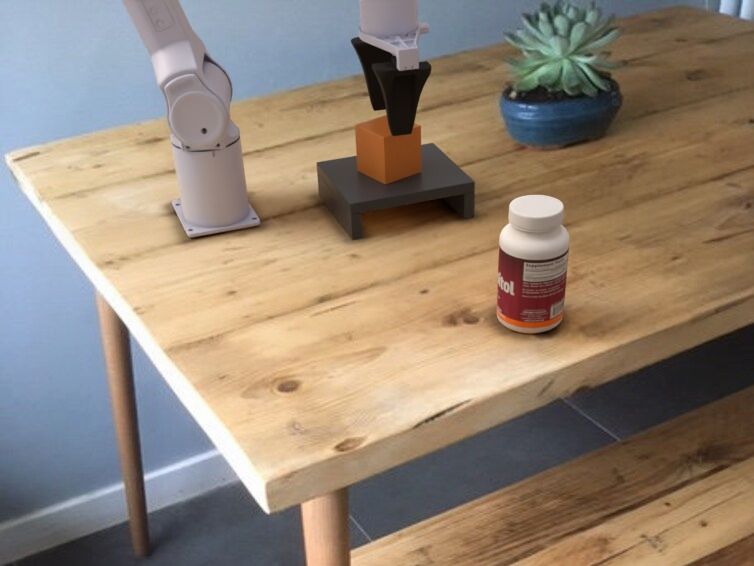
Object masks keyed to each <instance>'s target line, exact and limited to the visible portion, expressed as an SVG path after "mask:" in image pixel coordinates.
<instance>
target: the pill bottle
mask: <svg viewBox="0 0 754 566" xmlns="http://www.w3.org/2000/svg"><path fill="white" fill-rule="evenodd" d="M564 214H565V205H564V203H563V202H562V201H561V200H560V199H558V198H557V197H553V196H550V195H545V194H527V195H522V196H519V197H516V198H514V199H513V200H512V201H511V202H510V203H509V205H508V214H507V215H508V216H507V217H508V223H507V224H506V225H505V226H504V227H503V228H502V230H501V231H500V234H499V238H498V239H499V240H498V261H497V291H496V294H497V295H496V317H497V319H498V321H499V322H500V324H501V325H503V326H504V327H505V328H507V329H509V330H510V331H514V332H517V333H520V334H521V333H522V334H540V333H544V332H547V331H551V330H552V329H554V328H556V327H557V326H558V325H559V324H560V323H561V322H562V320H563V318H564V317H563V316H564V313H565V312H564V311H565V302H566V301H565V299H566V288H567V276H568V265H569V254H570V240H571V239H570V234H569V231H568V230H567V228H566V227H565V226H564V225H563V222H564V217H565V215H564Z"/></svg>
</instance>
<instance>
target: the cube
mask: <svg viewBox="0 0 754 566" xmlns="http://www.w3.org/2000/svg"><path fill="white" fill-rule="evenodd" d="M354 135H355V149H356V150H355V151H356V152H355V153H356V154H355V155H356V156H357V171H359V172H361V173H363V174H365V175H367V176H369V177H371V178H373V179H375V180H377V181H379V182H381V183H383V184H385V185H386V184H389V183H391V182H394V181H397V180H400V179H403V178H406V177H409V176H412V175H414V174H417V173H420V172H421V145H422V125H420V124H418V123H415V122H414V126H413V130H412V134H407V135H399V136H392V134H391V132H390V129H389V125H388V120H387V114H385V115H381V116H379V117H375V118H373V119H369V120H366V121H363V122H360V123H359V122H358V123H356V124H354Z"/></svg>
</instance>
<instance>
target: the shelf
mask: <svg viewBox="0 0 754 566" xmlns="http://www.w3.org/2000/svg"><path fill="white" fill-rule="evenodd" d="M316 173H317V174H316V175H317V189H318V198H319V199H320V200H321V201H322V202H323V204H324V205H325V206H326V208H327V209H328V210H329V212H330V213H331V214H332V216H333V217H334V218H335V220H336V221H337V222H338V223H339V225H340V226H341V227H342V229H343V230H344V231H345V232H346V234H347V235H348V236H349V238H350V239H351V241H355V240H360V239H363V238H364V236H363V235H364V234H363V216H362V215H363V214H362V213H367V212H372V211H378V210H384V209H389V208H390V209H391V208H396V207H400V206H401V207H402V206H406V205H411V204H416V203H422V202H427V201H433V200H438V199H444V200H445V201H446V203H448V204H449V206H451V207H452V208H453V210H455V211H456V212H457V214H458V215H460V217H461V218H463V219H464V220H466V219H471V218H475V199H476V198H475V197H476V196H475V195H476V194H475V189H476V187H475V186H476V181H475V180H474V179H472V177H470V176H469V174H467V172H465V171H464V170H463V169H462V168H460V166H459V165H458V164H456V163H455V162H454V160H452V159H451V158H450V157H449V156H448V155H447V154H446V153H445V152H444V151H442V149H440V147H438V146H437V145H436V144H435V143H434V142H429V143H424V144H421V172H420V173H417V174H414V175H412V176H409V177H406V178H403V179H400V180H397V181H394V182H391V183H389V184H386V185H385V184H383V183H381V182H379V181H377V180H375V179H373V178H371V177H369V176H367V175H365V174H363V173H361V172H359V171H357V155H352V156H345V157H340V158H334V159H329V160H322V161H317V162H316Z"/></svg>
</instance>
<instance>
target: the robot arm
mask: <svg viewBox="0 0 754 566" xmlns="http://www.w3.org/2000/svg"><path fill="white" fill-rule="evenodd" d="M121 2H122V5H123V6H124V8H125V10H126V12H127V14H128V16H129V18H130V20H131V22H132V24H133V26H134V28H135V30H136V32H137V34H138V36H139V38H140V40H141V42H142V43H143V46H144V48H145V49H146V52H147V53H148V55H149V57H150V60H151V64H152V65H151V66H152V69H153V73H154V77H155V81H156V83H157V87H158V89H159V91H160V93H161V95H162V97H163V100H164V102H165V103H164V104H165V119H166V123H167V127H168V128H169V131H170V134H169V139H170V145H171V150H172V158H173V159H172V160H173V164H174V170H175V176H176V182H177V188H178V193H179V198H177V199H173V200H172V201H171V205H172V207H173V209H174V211H175V214H176V215H177V217H178V219H179V221H180V223H181V226H182V228H183V229H184V232H185V234H186V235H187V237H188V238H197V237H201V236H207V235H213V234H218V233H224V232H230V231H235V230H240V229H246V228H251V227H257V226H260V225H261V219H260V218H259V216H258V215H257V213H256V211H255V210H254V208H253V206H252V205H251V204H250V202H249V196H248V188H247V179H246V171H245V164H244V155H243V147H242V140H241V139H242V138H241V131H240V127H239V126H238V125H237V124H236V123H235V122H234V121H233V120H232V118H231V112H230V111H231V102H232V100H233V99H232V98H233V95H234V94H233V92H234V91H233V90H234V88H233V82H232V79H231V77H230V75H229V73H228V72H227V70H226V69H225V68H224V66H222V64H220V63H219V62H217V61H216V60H215V59H214V58H213V57H212V56H211V54H210V53H209V51H208V49H207V47H206V46H205V43H204V42H203V40H202V39H201V37H200V36H199V35H198V34H197V33H196V32H195V31H194V29H193V28H192V26H191V24H190V21H189V20H188V17H187V15H186V13H185V11H184V8H183V7H182V5H181V3H180V1H179V0H121ZM358 3H359V6H358V7H359V26H358V36H356V37H353V38H351V39H350V43H351V45H352V48H353V49H354V50H355V53H356V55H357V57H358V60H359V63H360V66H361V69H362V71H363V75H364V79H365V84H366V89H367V93H368V98H369V102H370V105H371V108H372V110H373V111H374V112H377V111H385V113H386V114H385V115H387V120H388V125H389V129H390V132H391V134H392V136H399V135H407V134H412V130H413V126H414V123H415V121H416V116H417V111H418V106H419V102H420V98H421V95H422V92H423V90H424V87H425V85H426V84H427V81H428V79H429V77H430V76H431V75H432V74H431V73H432V65H431V64H430V63H429V61H428V60H423V61H420V48H419V46H418V44H419V40H420V36H421V35H425V34H429V33H430V25H429V24H428V23H427V22H426V21H424V20H419V19H418V16H419V15H418V0H358ZM418 20H419V21H418Z"/></svg>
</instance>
